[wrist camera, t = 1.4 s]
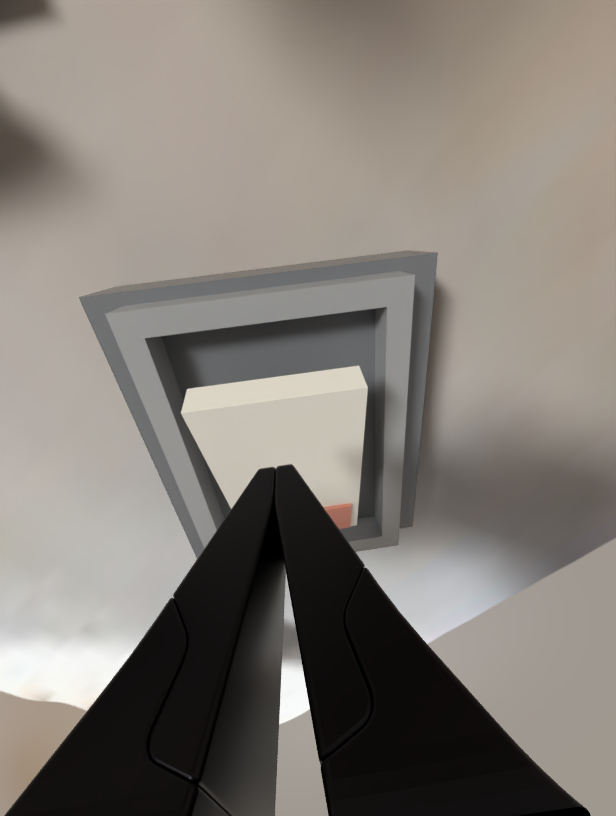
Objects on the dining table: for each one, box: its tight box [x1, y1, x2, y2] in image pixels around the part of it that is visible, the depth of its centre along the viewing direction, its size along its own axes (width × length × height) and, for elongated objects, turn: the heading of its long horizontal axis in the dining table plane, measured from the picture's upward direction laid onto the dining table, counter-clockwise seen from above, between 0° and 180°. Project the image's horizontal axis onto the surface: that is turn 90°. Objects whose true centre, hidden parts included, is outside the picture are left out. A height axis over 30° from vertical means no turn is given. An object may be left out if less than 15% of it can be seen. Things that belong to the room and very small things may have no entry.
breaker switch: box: [181, 366, 368, 529], centre depth 14 cm, size 10×6×1 cm, turn 6°
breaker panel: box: [79, 251, 438, 559], centre depth 16 cm, size 16×14×4 cm
